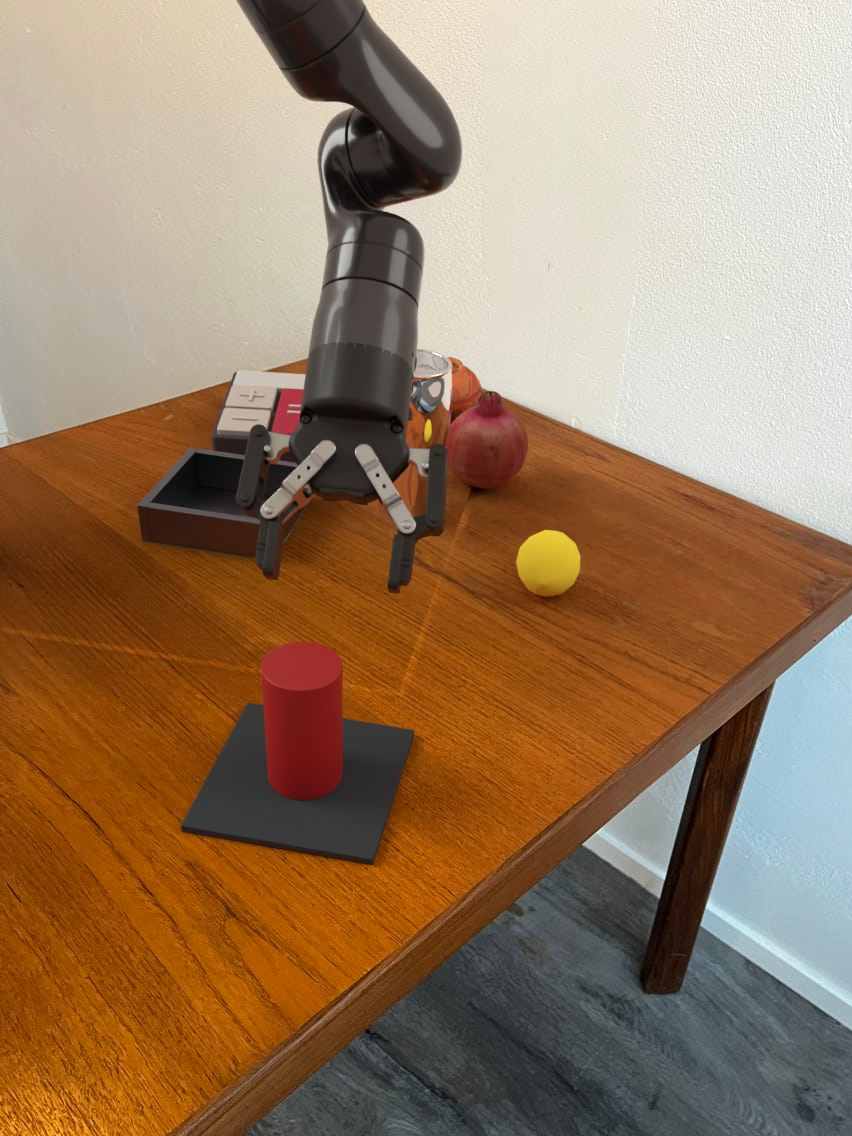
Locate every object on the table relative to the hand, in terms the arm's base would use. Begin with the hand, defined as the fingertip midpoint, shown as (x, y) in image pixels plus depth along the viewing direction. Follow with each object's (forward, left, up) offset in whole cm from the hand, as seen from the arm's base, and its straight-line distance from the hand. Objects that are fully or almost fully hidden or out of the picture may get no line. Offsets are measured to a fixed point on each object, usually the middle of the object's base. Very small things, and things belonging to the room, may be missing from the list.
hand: (332, 584), depth 69 cm
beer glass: (0, +26, -9) cm, 27 cm away
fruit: (+6, +34, -9) cm, 35 cm away
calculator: (-17, +39, -9) cm, 43 cm away
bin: (-15, +20, -9) cm, 26 cm away
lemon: (+14, +17, -9) cm, 24 cm away
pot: (-1, +50, -9) cm, 51 cm away
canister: (+1, -10, -8) cm, 13 cm away
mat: (+1, -10, -9) cm, 13 cm away
